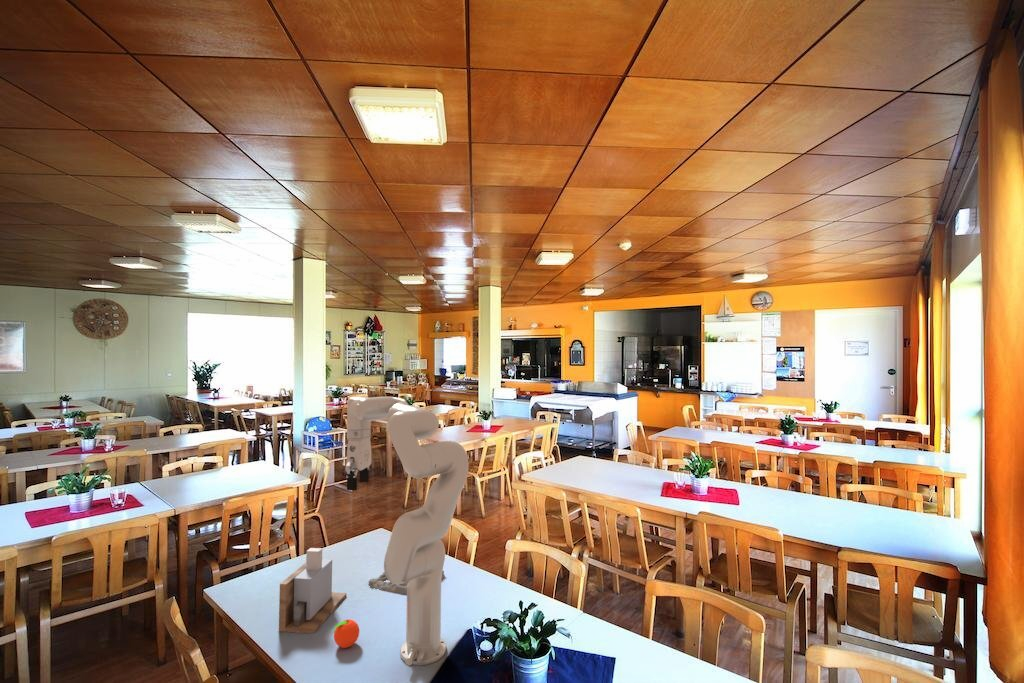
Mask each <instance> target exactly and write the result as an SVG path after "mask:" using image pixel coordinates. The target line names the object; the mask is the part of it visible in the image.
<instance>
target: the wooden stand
mask: <svg viewBox="0 0 1024 683" xmlns="http://www.w3.org/2000/svg"><path fill="white" fill-rule="evenodd" d="M304 569H306V562H305V563H303V564H302V565H301V566H300V567H299V568H297V569H296V570H295V571H293V572H292V573H291V574H289V576H288V577H287V578H285V579H284V580H283V581H282V582H280V583H279V601H278V602H279V603H278V604H279V605H278V607H279V608H278V609H279V610H278V632H283V633H284V632H288V633H299V634H300V633H302V634H315V632H316V631H317V630H318V629H319V628H320V626H321V625H323V623H324V622H325V621H326V620H327V619H328V617H329V616H331V614H333V612H334V611H335V609H337V608H338V606H339V605H340V604H341V602H343V600H344V599H345V598H346V597H347V593H346V592H334V591H333V592H332V597H331V598H330V599H329V600H328V601H327V602H326V604H325V605H324V606H323V607H322V608H321V609H320V610H319V611H318V612H317V613H316V614H315V615H314V616H313V617H312V619H311V620H306V609H307V602H301V601H300V602H299V603H298V604H297V605H295V606H294V578H295V577H296V576H297V575H299V574H300V573H301V572H302V571H303V570H304ZM293 611H294V619H293Z"/></svg>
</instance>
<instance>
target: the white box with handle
mask: <svg viewBox="0 0 1024 683" xmlns="http://www.w3.org/2000/svg"><path fill="white" fill-rule="evenodd" d="M305 556H306V562H305V563H306V569H304V570H303V571H302V572H301V573H300V574H299V575H297V576H296V577H295V578H294V606H295V605H297V604H298V603H299V602H300V601H301V602H307V609H306V620H311V619H312V617H313V616H314V615H315V614H316V613H317V612H318V611H319V610H320V609H321V608H322V607H323V606H324V605H325V604H326V602H327V601H328V600H329V599H330V598H331V597H332V591H333V588H332V587H333V586H332V585H333V559H330V558H329V559H327V558H323V548H321V547H310V548H308V549H307V550H306V555H305ZM293 619H294V611H293Z"/></svg>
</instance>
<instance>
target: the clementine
mask: <svg viewBox="0 0 1024 683" xmlns="http://www.w3.org/2000/svg"><path fill="white" fill-rule="evenodd" d="M332 633H333V640H334V642H335V645H337V646H338V647H340V648H342V649H345V648H346V649H347V648H350V647H351V646H353V645H354V644H355V643H356V642H357V641H358V639H359V636H360V627H359V624H358V623H357V622H356V621H355V620H352V619H351V618H350V619H347V618H346V619H344V620H342V621H341V622H339V623H338V624H336V625H335V626H334V627H333V629H332V631H331V633H330V635H332Z"/></svg>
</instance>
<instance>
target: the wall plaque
mask: <svg viewBox="0 0 1024 683" xmlns="http://www.w3.org/2000/svg"><path fill="white" fill-rule="evenodd" d="M444 573H445V571H444V570H443V571H442V579H444V578H445V574H444ZM386 580H387V581H386ZM384 581H385V582H384ZM408 583H409V581H408V582H406V583H403V584H393V583H391V582H389V580H388V579H387V577H386V575H385V572H384V571H383V572H382V573H381V574H380V575H379V576H378V577H377V578H371V579H370V580H369V581H368V585H369V586H370V587H369V586H368V587H369V588H371V589H374V588H375V590H377V589H379V590H378V591H383V590H384V591H383V592H388V593H392V594H399V595H404V596H405V595H406V596H407V587H408Z"/></svg>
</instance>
